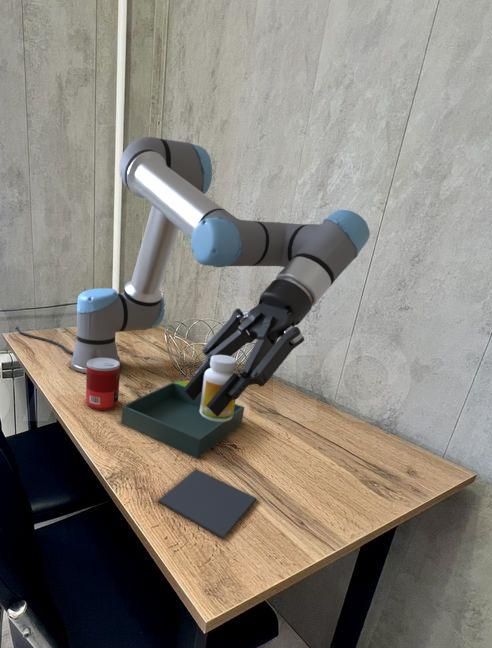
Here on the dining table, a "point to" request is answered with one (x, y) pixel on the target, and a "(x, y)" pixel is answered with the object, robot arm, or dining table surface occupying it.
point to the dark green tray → (177, 420)
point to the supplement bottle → (217, 386)
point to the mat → (208, 502)
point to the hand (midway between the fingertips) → (199, 402)
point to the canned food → (102, 383)
